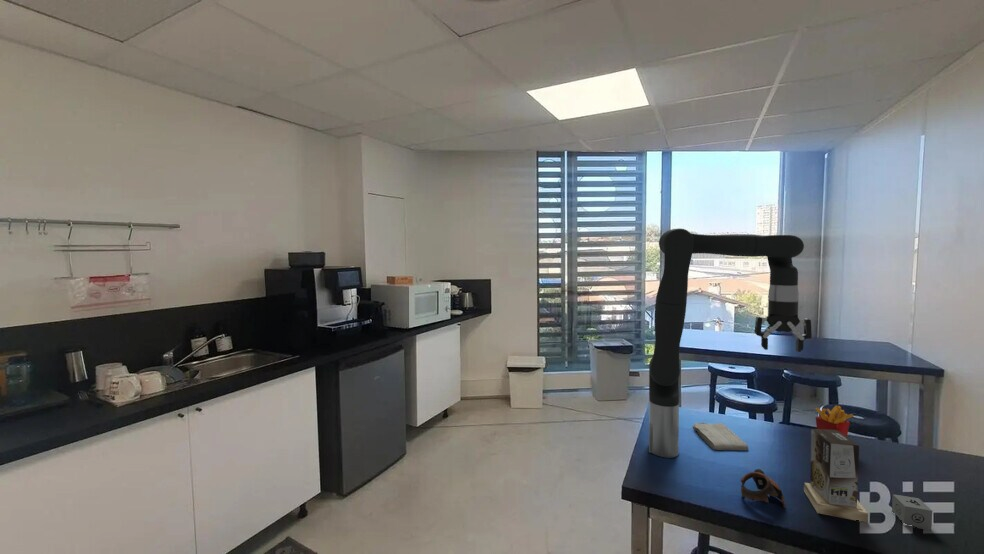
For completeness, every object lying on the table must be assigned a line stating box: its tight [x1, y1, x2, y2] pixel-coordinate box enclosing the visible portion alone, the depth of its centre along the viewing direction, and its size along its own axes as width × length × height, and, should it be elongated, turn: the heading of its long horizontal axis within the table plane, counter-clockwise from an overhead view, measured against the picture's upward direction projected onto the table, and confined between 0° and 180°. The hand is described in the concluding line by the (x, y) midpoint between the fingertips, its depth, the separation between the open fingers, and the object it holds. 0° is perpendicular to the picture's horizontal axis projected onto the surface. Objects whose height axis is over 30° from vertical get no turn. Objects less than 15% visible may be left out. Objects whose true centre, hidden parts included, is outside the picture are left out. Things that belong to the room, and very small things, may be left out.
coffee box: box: [809, 428, 860, 507], centre depth 103 cm, size 9×6×16 cm
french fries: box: [815, 405, 854, 437], centre depth 131 cm, size 9×8×15 cm
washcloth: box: [692, 422, 749, 451], centre depth 141 cm, size 12×18×3 cm, turn 177°
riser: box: [803, 481, 869, 523], centre depth 103 cm, size 10×10×3 cm
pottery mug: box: [740, 468, 786, 509], centre depth 107 cm, size 12×10×8 cm
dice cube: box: [891, 493, 933, 531], centre depth 97 cm, size 5×5×5 cm
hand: (781, 350), depth 123 cm, fingers open, 8 cm apart
